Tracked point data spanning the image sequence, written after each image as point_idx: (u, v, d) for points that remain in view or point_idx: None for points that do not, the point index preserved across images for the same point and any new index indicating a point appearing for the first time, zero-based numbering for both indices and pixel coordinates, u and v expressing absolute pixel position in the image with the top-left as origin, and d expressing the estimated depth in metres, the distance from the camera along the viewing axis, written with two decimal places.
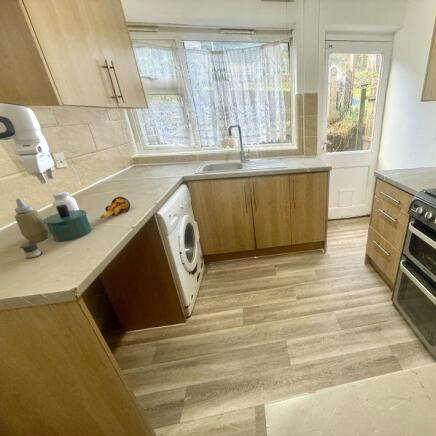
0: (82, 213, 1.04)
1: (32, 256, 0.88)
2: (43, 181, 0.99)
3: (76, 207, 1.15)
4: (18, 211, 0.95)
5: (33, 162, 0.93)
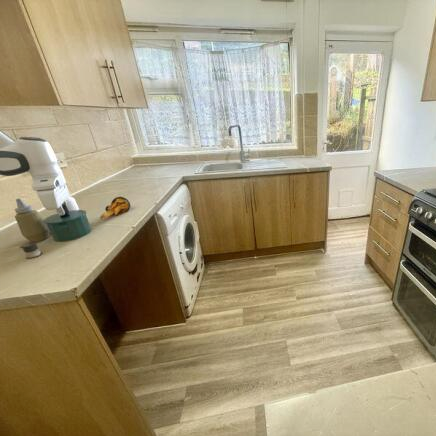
0: (82, 213, 1.04)
1: (32, 256, 0.88)
2: (61, 213, 0.98)
3: (76, 207, 1.15)
4: (18, 211, 0.95)
5: (50, 198, 0.90)
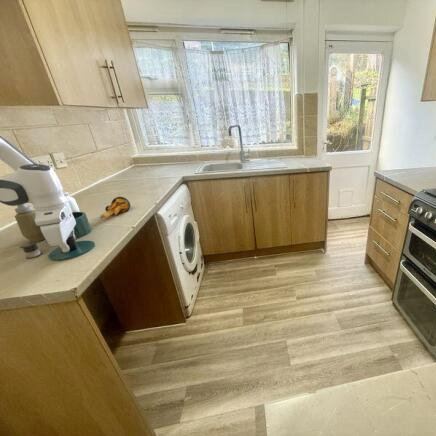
0: (91, 245, 0.94)
1: (32, 256, 0.88)
2: (66, 249, 0.86)
3: (76, 207, 1.15)
4: (18, 211, 0.95)
5: (56, 233, 0.80)
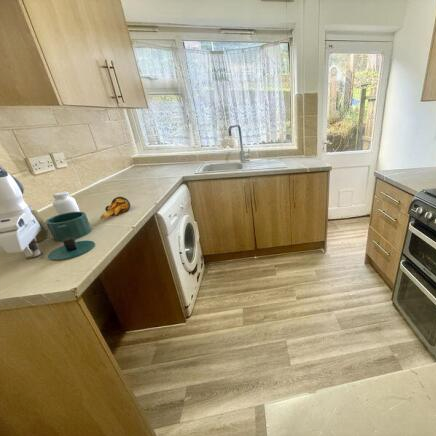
0: (91, 245, 0.94)
1: (32, 256, 0.88)
2: (28, 254, 0.87)
3: (76, 207, 1.15)
4: None
5: (12, 240, 0.78)
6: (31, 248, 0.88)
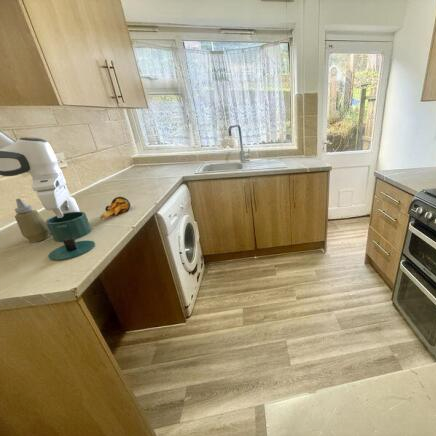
0: (91, 245, 0.94)
1: None
2: (60, 215, 0.96)
3: (76, 207, 1.15)
4: (18, 211, 0.95)
5: (50, 198, 0.90)
6: None
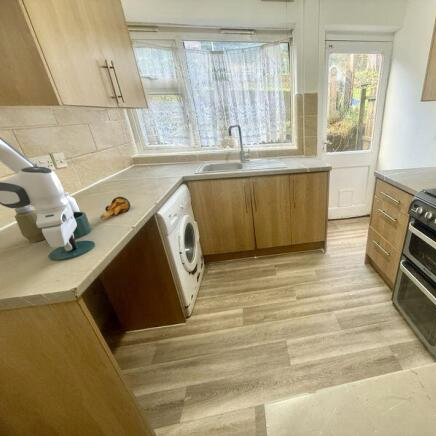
0: (91, 245, 0.94)
1: None
2: (68, 248, 0.89)
3: (76, 207, 1.15)
4: (18, 211, 0.95)
5: (57, 235, 0.80)
6: None
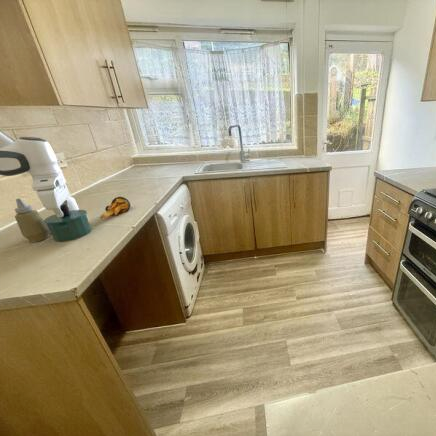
0: (83, 213, 1.04)
1: None
2: (60, 215, 0.96)
3: (76, 207, 1.15)
4: (18, 211, 0.95)
5: (51, 198, 0.90)
6: None
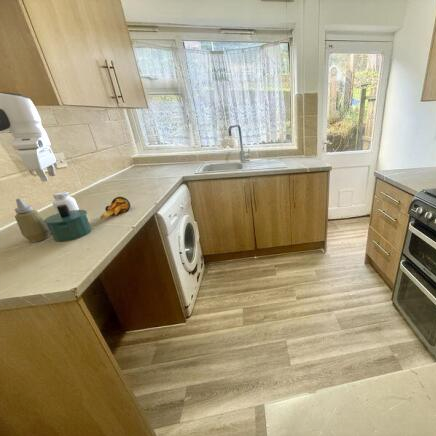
0: (83, 213, 1.04)
1: None
2: (44, 179, 0.91)
3: (76, 207, 1.15)
4: (18, 211, 0.95)
5: (33, 158, 0.84)
6: None
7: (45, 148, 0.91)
